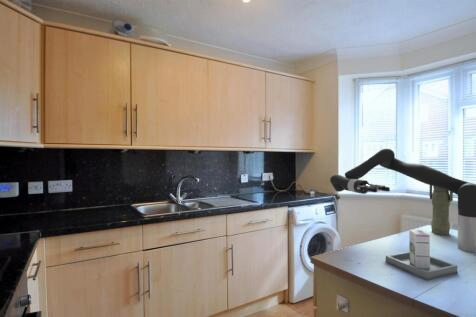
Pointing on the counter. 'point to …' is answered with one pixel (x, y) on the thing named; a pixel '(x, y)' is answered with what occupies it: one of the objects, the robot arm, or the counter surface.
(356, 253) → the counter surface
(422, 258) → the syrup box
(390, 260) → the slate tray
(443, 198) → the thermos
